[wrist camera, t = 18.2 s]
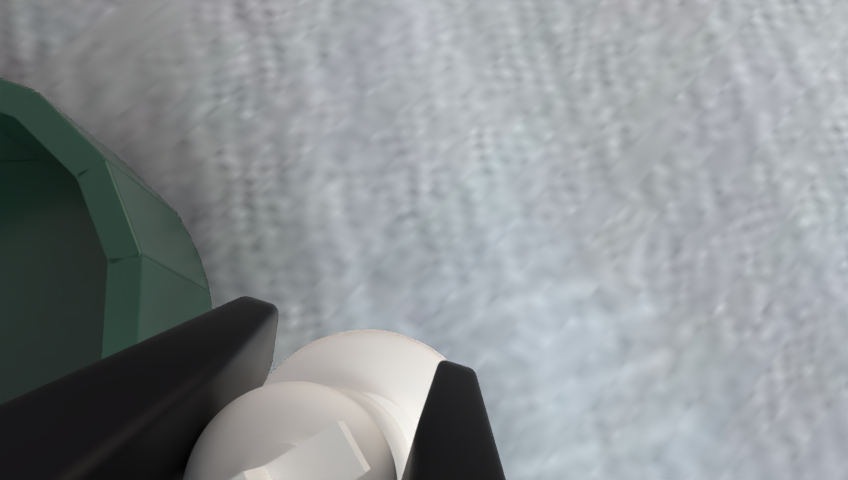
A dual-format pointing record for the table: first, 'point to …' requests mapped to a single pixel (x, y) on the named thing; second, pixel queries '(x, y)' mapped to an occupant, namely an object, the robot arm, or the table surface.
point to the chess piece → (324, 414)
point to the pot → (80, 249)
